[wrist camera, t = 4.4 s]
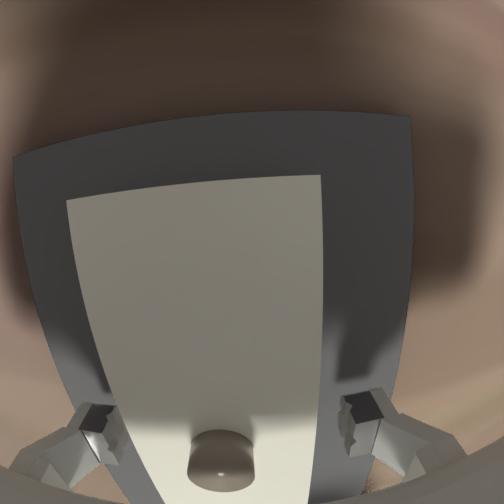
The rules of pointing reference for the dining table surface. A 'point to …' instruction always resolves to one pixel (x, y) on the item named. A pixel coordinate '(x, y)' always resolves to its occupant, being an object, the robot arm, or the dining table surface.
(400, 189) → the mat
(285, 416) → the lid
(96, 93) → the dining table surface
